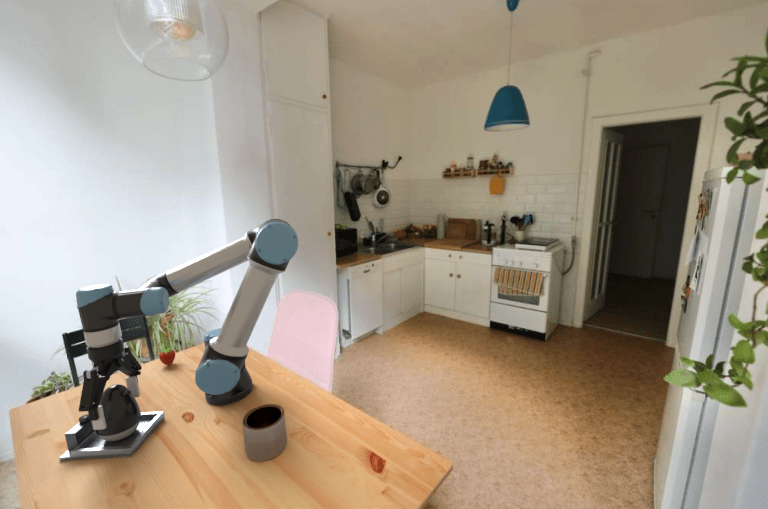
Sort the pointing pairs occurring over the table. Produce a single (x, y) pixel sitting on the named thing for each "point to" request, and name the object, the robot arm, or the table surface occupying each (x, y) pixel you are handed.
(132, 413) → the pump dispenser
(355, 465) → the table surface
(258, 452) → the planter
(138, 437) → the tray unit
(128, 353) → the robot arm
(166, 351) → the fruit
